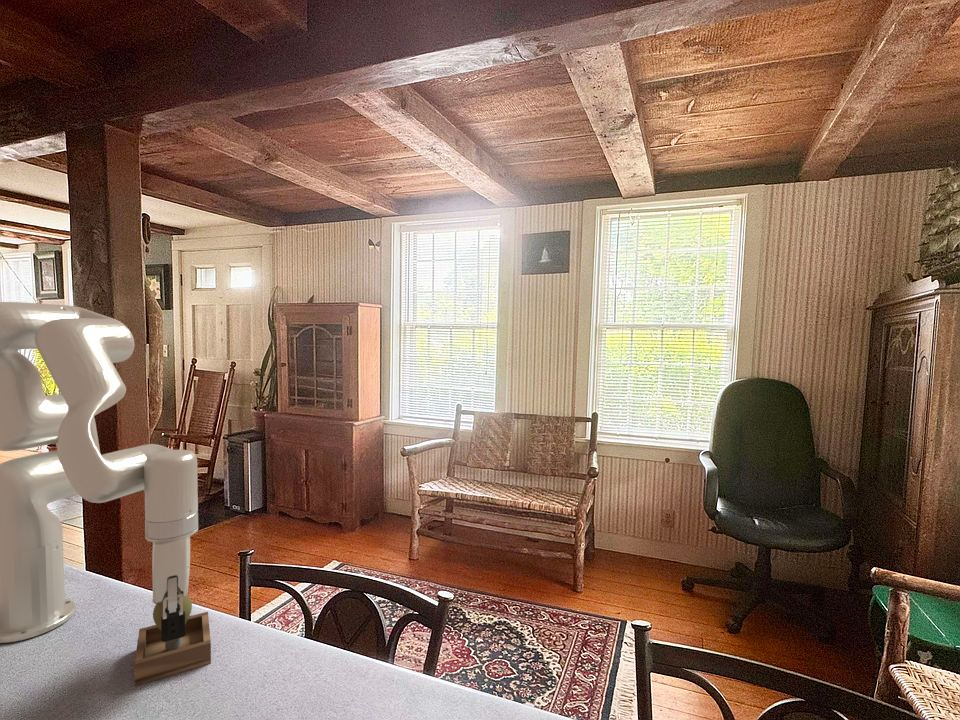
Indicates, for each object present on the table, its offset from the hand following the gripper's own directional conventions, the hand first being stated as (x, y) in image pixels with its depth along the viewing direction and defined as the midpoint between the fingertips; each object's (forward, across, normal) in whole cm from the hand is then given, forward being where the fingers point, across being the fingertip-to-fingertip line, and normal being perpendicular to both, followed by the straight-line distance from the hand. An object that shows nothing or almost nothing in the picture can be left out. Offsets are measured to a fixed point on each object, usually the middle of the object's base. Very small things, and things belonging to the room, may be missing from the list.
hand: (174, 622), depth 82 cm
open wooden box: (+6, 0, 0) cm, 6 cm away
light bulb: (+5, 0, 0) cm, 5 cm away
